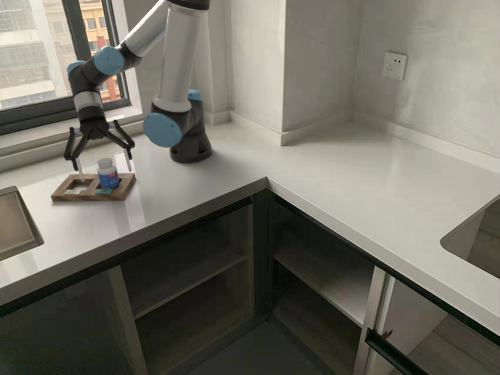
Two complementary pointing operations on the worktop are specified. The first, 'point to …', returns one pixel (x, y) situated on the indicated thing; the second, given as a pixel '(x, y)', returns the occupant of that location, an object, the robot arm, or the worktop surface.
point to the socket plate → (92, 188)
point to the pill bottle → (107, 174)
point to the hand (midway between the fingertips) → (107, 175)
